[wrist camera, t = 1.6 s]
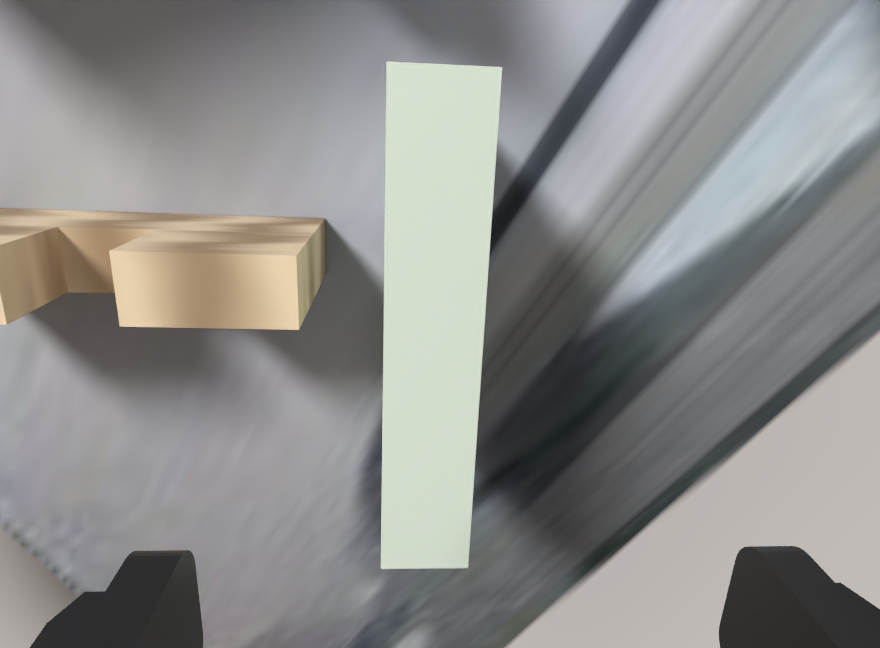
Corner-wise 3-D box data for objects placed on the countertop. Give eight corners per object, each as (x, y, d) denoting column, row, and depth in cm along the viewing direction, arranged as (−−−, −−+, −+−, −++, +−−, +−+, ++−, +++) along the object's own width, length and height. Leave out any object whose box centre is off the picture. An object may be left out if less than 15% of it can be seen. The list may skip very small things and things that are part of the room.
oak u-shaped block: (324, 218, 31) (296, 255, 23) (325, 274, 32) (298, 329, 24) (-38, 207, 30) (-210, 242, 22) (-25, 265, 31) (-186, 321, 23)
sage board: (454, 91, 30) (502, 66, 16) (441, 385, 35) (468, 567, 21) (393, 88, 29) (386, 61, 15) (389, 384, 35) (381, 568, 20)
